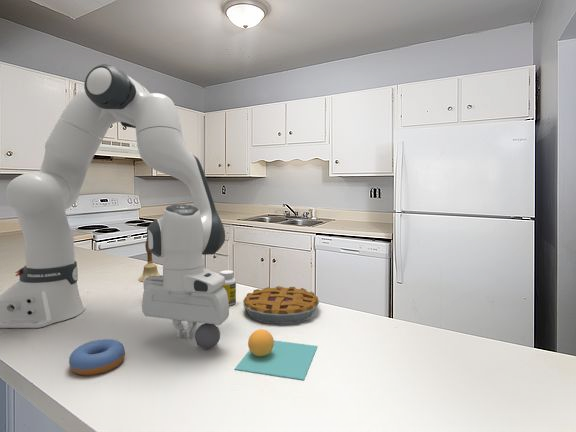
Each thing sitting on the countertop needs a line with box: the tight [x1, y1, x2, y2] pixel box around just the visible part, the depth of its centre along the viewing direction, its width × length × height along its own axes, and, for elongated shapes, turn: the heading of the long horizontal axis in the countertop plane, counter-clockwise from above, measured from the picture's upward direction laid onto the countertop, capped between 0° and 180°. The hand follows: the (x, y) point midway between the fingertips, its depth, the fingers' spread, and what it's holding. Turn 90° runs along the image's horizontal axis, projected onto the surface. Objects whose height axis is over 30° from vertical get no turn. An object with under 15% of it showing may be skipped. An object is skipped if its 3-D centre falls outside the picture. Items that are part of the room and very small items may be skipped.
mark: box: [234, 340, 318, 381], centre depth 75 cm, size 14×14×1 cm
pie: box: [242, 286, 320, 324], centre depth 102 cm, size 22×22×5 cm
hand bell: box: [138, 239, 160, 283], centre depth 132 cm, size 8×8×16 cm
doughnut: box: [68, 338, 126, 376], centre depth 72 cm, size 10×10×5 cm
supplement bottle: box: [219, 269, 237, 307], centre depth 107 cm, size 5×5×10 cm
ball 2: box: [247, 328, 275, 357], centre depth 76 cm, size 6×6×6 cm
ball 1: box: [194, 323, 221, 350], centre depth 79 cm, size 6×6×6 cm
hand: (185, 337), depth 80 cm, fingers closed
